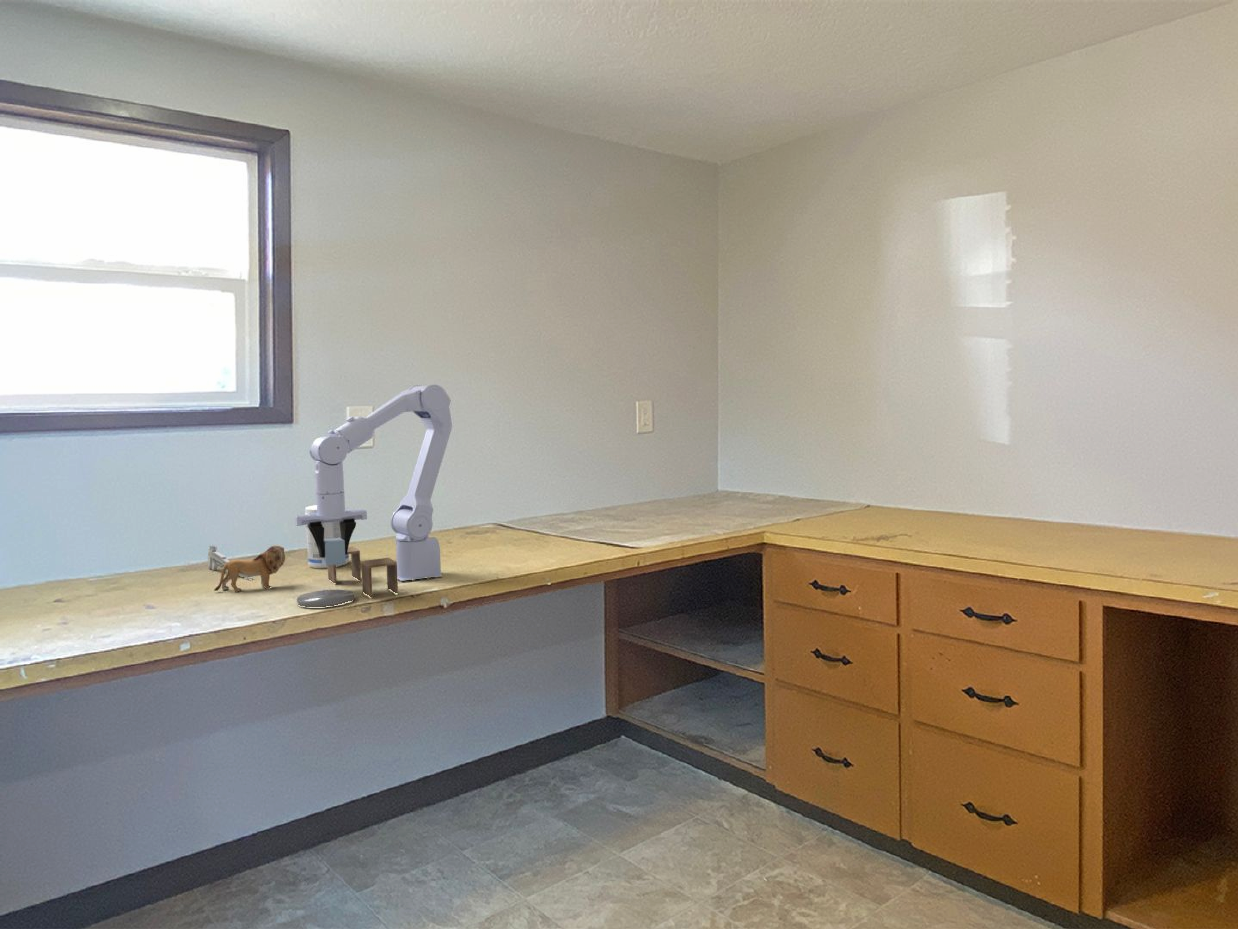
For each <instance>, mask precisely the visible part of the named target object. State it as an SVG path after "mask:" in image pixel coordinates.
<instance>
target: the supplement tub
mask: <svg viewBox="0 0 1238 929" xmlns="http://www.w3.org/2000/svg"><path fill="white" fill-rule="evenodd" d="M345 511H347V510H346V509H345ZM314 513H317V504H314V505H310V506H306V507H305V513H304V515H307V514H314ZM336 519H343V518H336ZM323 520H332V519H323ZM339 522H340V521H339ZM339 522H329V523H321V525H322V527H324V539H333V538H341V532H340V524H339ZM305 533H306V546H307V547H306V549H307V550H306V551H307V562H308V566H309V567H311V568H313V569H328V566H326V565H325V564H323V563H322V558H321V557H320V556H319V551H318V547H317V544H316V542H315V539H314V537H313V535H312V533H311V532H310V530H309V528H308V526H307V525H305ZM345 561H346V564H337V565H336V568H339V567H343V566H345V565H347V564H348V563H349V561H350V554H347V555H345ZM342 565H343V566H342Z"/></svg>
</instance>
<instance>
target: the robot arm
mask: <svg viewBox="0 0 1238 929" xmlns="http://www.w3.org/2000/svg"><path fill="white" fill-rule="evenodd" d="M451 401H452V400H451V397H449V395H448V393H447V391H446V390H445V389H444V388H443V387H442V386H440V385H438V384H430V385H422V384H416V385H413V386H411V387H409V388H408V389H406V390H403V391H401V392H399V393H398V394H397V395H395V396H393V397H392V398H391V399H390V400H388V401H386V402H385V403H384V404H382V405H381V406H379V407H377V409H375V410H374V411H372V412H371V413H369V415H367V416H365V417H363V416H359V415H356V416H355V417H354V416H349V417H348V418H346V419H345V421H346V422H345V423H344V424H342V425H341V426H339V427H337V428H335V429H329V430H328V431H327V434H328V435H327V436H321V437H318V438H316V439H314V441H313V442H312V445H311V447H310V449H309V454H310V458H312V460H313V461H314V470H315V471H314V479H315V480H314V482H315V497H316V498H315V499H316V505H317V513H314V514H307V515H305V514H302V515H301V514H300V515H295V516H294V524H295V526H297V527H300V526H301V527H303V526H306V525H307V526H308V528H309V530H310V532H311V533H312V535H313V537H314V539H315V542H316V544H317V547H318V551H319V556H320V557H321V558H325V548H324V527H322V525H321V523H329V522H339V521H340V522H339V524H340V532H341V539H343V540H345V555H347V551H348V547H350V545H349V544H350V541H351V539H352V536H353V532H354V531H355V529H356V526H357V521H358V520H362V521H364V520H365V521H366V520H368V515H367V514H368V513H367V510H366V509H357V510H356V509H355V510H346V500H345V498H346V497H345V481H344V480H345V479H344V466H343V464H344V460H345V459H346V457H347V455H348V454H350V453H352V452H353V451H354V450H356V449H357V448H359V447H360V446H362V445H364V444H365V443H366V442H368V441H370V440H371V439H373V436H374V431H375V430H376V429H378V428H380V427H381V426H383V425H385V424H387V423H388V422H390V421H392V420H393V419H395V418H397V417H399V416H400V415H402V414H403V413H409V412H412V413H414V414H415V415H416V416H417V417H418V418H419V419H420V420H421V422H422V423H423V425H424V426H425V428H426V430H425V434H424V438H423V441H422V444H421V447H420V450H419V454H418V457H417V461H416V463H415V464H416V465H415V467H414V470H413V474H412V476H411V480H410V484H409V487H408V490H407V494H406V495H405V496H404V497H403V498H402V499H401V500H400V501H399V504H398V507H397V508H396V510H395V511H394V512H393V513H392V515H391V517H390V526H391V529H392V530H393V531H394V532H395V533H396V534H395V535H396V536H395V554H396V555H395V556H396V558H395V559H396V562H397V578H398V579H399V580H401V581H405V580H412V579H419V578H425V577H435V578H440V577H439V576H441V577H442V576H443V575H442V573H441V572H442V570H441V567H442V566H441V547H440V543H439V540H438V538H437V537H436V536H430V537H429V535H430V533H431V531H432V529H433V518H432V517H433V512H434V508H433V504H432V501H431V499H432V496H433V492H434V489H435V487H436V486H435V485H436V482H437V479H438V476H439V472H440V470H441V469H440V468H441V466H442V462H443V458H444V456H445V452H446V449H447V446H448V442H449V439H450V435H451V432H452V429H453V422H452V417H451V411H450V410H451V409H450V405H451ZM345 510H346V511H345ZM336 518H343V519H336ZM323 519H332V520H323ZM398 579H397V580H398ZM399 580H398V581H399ZM401 581H400V582H401ZM412 581H413V580H412ZM405 582H406V581H405Z"/></svg>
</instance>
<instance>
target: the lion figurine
mask: <svg viewBox="0 0 1238 929" xmlns="http://www.w3.org/2000/svg"><path fill="white" fill-rule="evenodd" d="M285 561H286V554H285V547H284V546H283V547H282V546H280V545H277V544H276V545H275V544H274V545H271V546H270V547H268V548H267V549H266V550H265V551H264V552H262V553H260V554H259V555H257V557H255V558H253V559H251V560H250V559H248V560H247V559H246V560H244V559H237V558H236V559H235V558H234V559H231V560H229V562H227V563H226V564H225V566H224V567H222V569H221V570H222V571H221V574H220V580H219V584H218V586H216V587H215V588H214V590H213V591H214V592H215V591H219V590H220V589H222V590H224V591H227V589H228V590H229V589H230V586H231V587H232V589H233V591H234V592H236V591H240V592H242V588H241V587H238V586H237V581H238V579H239V573H240V574H243V575H245V576H249V577H259V576H260V579H261V581H260V585H261V586H262V587H263V586H265V587H264V588H265V589H267V588H270V587H272V585H270V584H269V583H270V578H271V577H270V575H273V574H277V572H278V571H279V569H280V568H281V567H283V565H284V563H285ZM226 571H227V573H226ZM225 574H226V575H225ZM229 581H231V583H230V586H228V585H227V583H229ZM272 588H273V587H272ZM270 589H271V588H270Z"/></svg>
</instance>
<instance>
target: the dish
mask: <svg viewBox="0 0 1238 929" xmlns="http://www.w3.org/2000/svg"><path fill="white" fill-rule="evenodd" d="M353 599H355V592H354V591H352V590H348V589H323V590H322V589H321V590H316V591H310V592H307V593H303V594H301V595H298V596H297V597H296V604H297V603H298V605H300V606H305V607H326V606H334V605H338V604H342V603H345V602H348V601H352V600H353ZM298 605H297V606H298Z"/></svg>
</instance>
